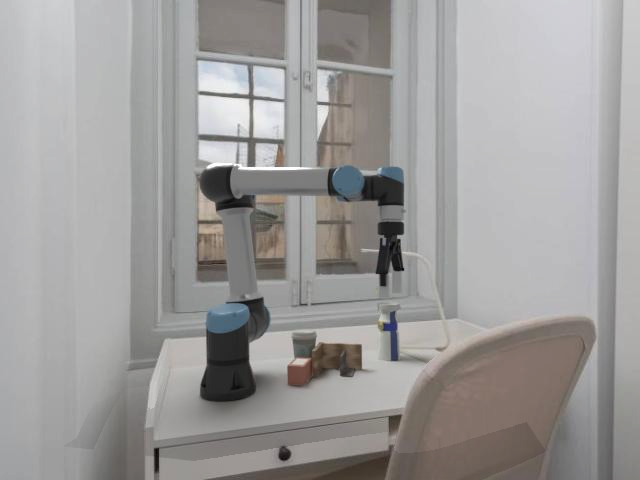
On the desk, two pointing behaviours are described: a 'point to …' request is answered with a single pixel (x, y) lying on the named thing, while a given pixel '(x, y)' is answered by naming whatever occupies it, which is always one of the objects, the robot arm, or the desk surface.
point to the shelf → (337, 358)
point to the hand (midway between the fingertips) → (390, 295)
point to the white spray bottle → (388, 331)
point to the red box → (299, 371)
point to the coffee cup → (303, 342)
